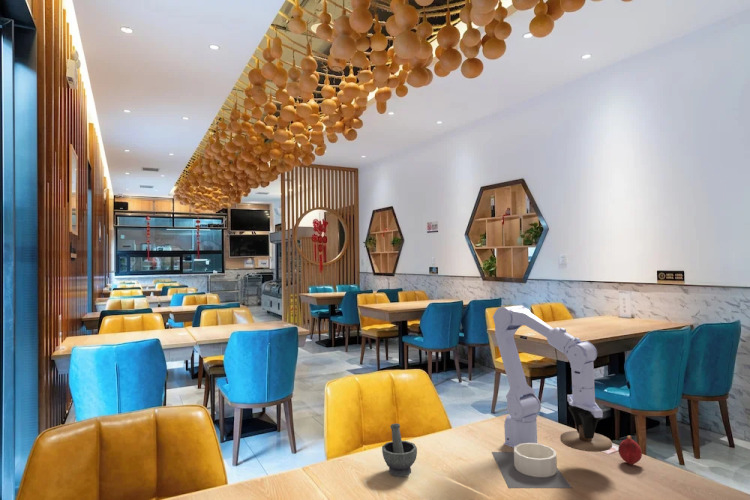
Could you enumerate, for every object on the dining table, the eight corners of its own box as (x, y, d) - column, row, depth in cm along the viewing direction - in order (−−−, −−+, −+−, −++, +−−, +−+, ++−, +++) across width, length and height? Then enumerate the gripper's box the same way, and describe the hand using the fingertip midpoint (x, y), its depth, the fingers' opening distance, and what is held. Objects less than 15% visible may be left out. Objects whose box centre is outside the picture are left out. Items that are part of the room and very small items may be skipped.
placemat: (508, 489, 115) (508, 487, 115) (491, 453, 137) (491, 451, 137) (572, 489, 114) (572, 487, 114) (544, 453, 136) (544, 451, 136)
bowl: (506, 467, 126) (506, 450, 126) (528, 456, 133) (528, 439, 133) (543, 481, 118) (542, 463, 118) (564, 468, 125) (563, 451, 125)
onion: (645, 470, 123) (644, 440, 124) (623, 468, 124) (621, 439, 125) (638, 461, 129) (636, 432, 129) (616, 459, 130) (614, 431, 130)
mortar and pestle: (420, 478, 122) (419, 433, 123) (387, 481, 121) (385, 436, 121) (410, 460, 134) (409, 419, 134) (379, 463, 132) (378, 422, 132)
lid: (551, 442, 125) (551, 426, 126) (573, 430, 134) (572, 415, 134) (599, 456, 116) (598, 438, 116) (619, 442, 124) (619, 425, 124)
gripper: (556, 380, 132) (558, 426, 132) (583, 394, 118) (586, 446, 117) (579, 379, 133) (581, 425, 132) (609, 392, 118) (611, 445, 118)
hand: (585, 435), depth 125 cm, fingers closed on lid, 3 cm apart
